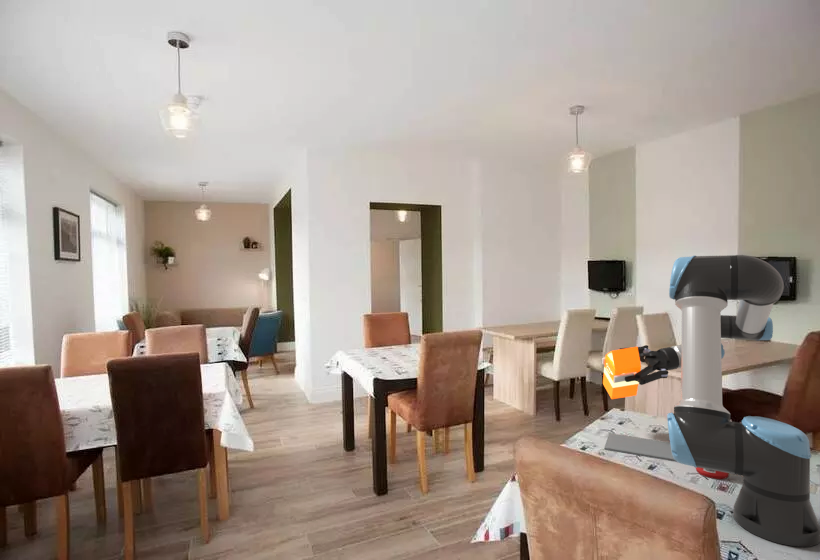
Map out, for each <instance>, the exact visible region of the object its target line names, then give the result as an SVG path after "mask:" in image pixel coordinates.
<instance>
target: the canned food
mask: <svg viewBox="0 0 820 560" xmlns="http://www.w3.org/2000/svg"><path fill="white" fill-rule="evenodd" d="M695 470H696V472H697V473H698V474H699V475H701V476H703V477H705V478H710V479H714V480H715V479H716V480H725V479H728V477H729V475H730V473H725V472H720V471H715V470H709V469H704V468H699V467H697V468H695Z"/></svg>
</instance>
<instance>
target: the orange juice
mask: <svg viewBox="0 0 820 560" xmlns="http://www.w3.org/2000/svg"><path fill="white" fill-rule="evenodd" d="M638 347H639V346H633V347H631V348H630V347H624V348H625V349H620V348H618V349H614V350H611V351H609V352H608V353H606V354H605V356H604V357H605V364H604V367H603V375H602V376H603V377H602V384H603V387H604V388H605V390H606V392H607V393H608V395H609V397H610V399H611V400H616V399H622V398H628V397H630V398H631V397H634V396H635V397H636V396H637V394H638V390H639V389H638V387H639V385H640V384H639V382H638V381H631V382H626V381H622V382H617V383H614V382H613V381H614V376H616V375H621V374H626V373H632V372H634V375H635V373H638V372H639V371H641V370H642V369H641V368H642V362H641V361H640V358H639V352H638Z"/></svg>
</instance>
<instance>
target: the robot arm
mask: <svg viewBox="0 0 820 560" xmlns="http://www.w3.org/2000/svg"><path fill="white" fill-rule="evenodd" d="M784 288H785V286H784V280H783V278H782V275H781V273H780V272H779V271H778V270H777V269H776V268H775V267H774V266H773V265H772V264H770V263H768V262H767V261H765V260H763V259H761V258H758V257H755V256H753V255H747V254H746V255H745V254H736V255H733V254H732V255H691V256H681V257H677V258H676V259H675V261H674V262H673V265H672V269H671V274H670V279H669V289H668V291H669V293H668V295H669V299H672V300H674V302H675V303H674V305H675V307H677V308H678V309H679V310H681V344H678V345H673V346H668V347H667V346H666V347H663V348H659V349H657V350H651V349H649V345H647V344H646V345H642V346H638V352H639V358H640V363H645V364H646V366H645V367H644V368H642V369H641V371H639V372H638V373H635V375H634V372H632V373H626V374H621V375H616V376H614V381H613V382H614V383H617V382H622V381H626V382H631V381H638V382H639V384H638V385H640V386H642V385H646V384H649V383H652V382H655V381H656V380H660V379H667V378H668V376H669V371H671V370H677V369H680V371H681V372H680V401H678V402H677V403H675V405H674V406H673V412H668V413H667V415H666V420H667V430H668V437H669V442H670V445H671V451H672V456H673V458H674V459H675V460H676V461H677V462H676V463H678V464H682V465H685V466H689V467H690V466H691V467H693V468H695V469H696V468H697V467H699V468H704V469H709V470H715V471H720V472H725V473H729V474H731V475H737V476H742V486H741V488H740V490H739V492H738V495H737V497H736V500H735V502H734V505H733V519H734V521H735V522H736V523H737V524H738V525H739V526H741V528H743V529H744V530H746V531H748V532H749V533H751V534H753V535H755V536H757V537H760V538H761V539H765V540H767V541H771V542H773V543H777V544H782V545H785V546H791V547H800V548H802V547H803V548H804V547H806V548H808V547H813V546H817V545H818V544H819V543H820V522H819V521H818V518H817V515H816V513H815V510H814V508H813V505H812V502H811V495H810V494H811V493H810V492H811V485H810V483H811V480H810V479H811V477H810V476H811V474H810V473H811V472H810V471H811V466H810V465H811V458H812V453H811V447H810V440H809V437H808V435H807V434H806V433H805V432H803V431H802V430H800V429H799V428H797V427H794V426H793V425H791V424H788V423H786V422H783V421H779V420H776V419H773V418H769V417H763V416H759V415H758V416H756V415H755V416H751V415H748V416H744V417H743V419H742V420H741V422H737V421H731V413H730V411H729V410H727V409H726V408H725V407H724V405H723V379H722V377H723V376H722V375H723V372H722V371H723V370H722V369H723V368H722V367H723V366H722V359H723V358H724V357H725V353H726V352H725V349H724V345H723V343H722V339H732V340H733V339H734V340H746V341H747V340H749V341H757V342H758V341H770V340H772V338H773V334H774V333H773V332H774V325H773V320H772V318H771V317H770V314H771V311H772V308H773V306H774V304H775V303H776V302H778V301H779V300H780V298H781V296H782V295H783V292H784ZM729 300H731V301H732V300H734V301H736V300H737V301H738V300H739V301H738V307H737V312H736V315H726V314H722V315H721V313H722V311H723V310H725V309H726V308H727V307H728V301H729ZM625 348H626V347H620V348H619V349H625ZM629 348H631V347H629ZM601 365H602V366H603V365H604V366H605V356H604V357H602V359H601Z"/></svg>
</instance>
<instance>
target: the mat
mask: <svg viewBox="0 0 820 560" xmlns="http://www.w3.org/2000/svg"><path fill="white" fill-rule="evenodd" d="M604 450H606V451H611V452H612V451H613V452H617V453H623V454H628V455H633V456H635V455H636V456H640V457H647V458H653V459H659V460H664V461H671V462H676V463H678V462H677V461H676V460H675V459H674V458H673V456H672V451H671V445H670V441H662V440H657V439H648V438H643V437H636V436H630V435H623V434H617V433H608V436H607V439H606V441H605V445H604Z"/></svg>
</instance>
